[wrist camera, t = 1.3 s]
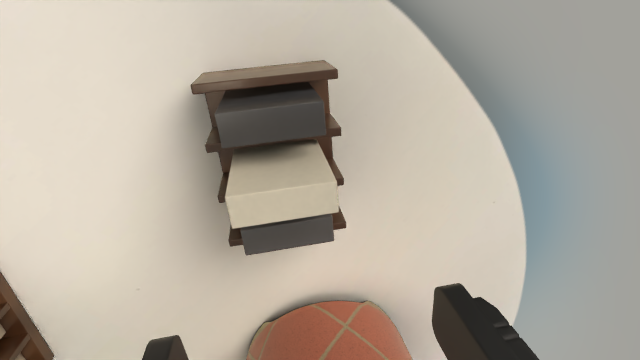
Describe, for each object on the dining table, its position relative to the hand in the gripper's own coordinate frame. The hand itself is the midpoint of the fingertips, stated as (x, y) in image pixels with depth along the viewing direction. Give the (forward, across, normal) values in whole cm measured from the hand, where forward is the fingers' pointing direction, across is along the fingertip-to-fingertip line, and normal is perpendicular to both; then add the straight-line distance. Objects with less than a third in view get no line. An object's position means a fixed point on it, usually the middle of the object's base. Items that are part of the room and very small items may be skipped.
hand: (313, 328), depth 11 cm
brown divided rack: (+19, 0, 0) cm, 19 cm away
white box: (+18, 0, 0) cm, 18 cm away
